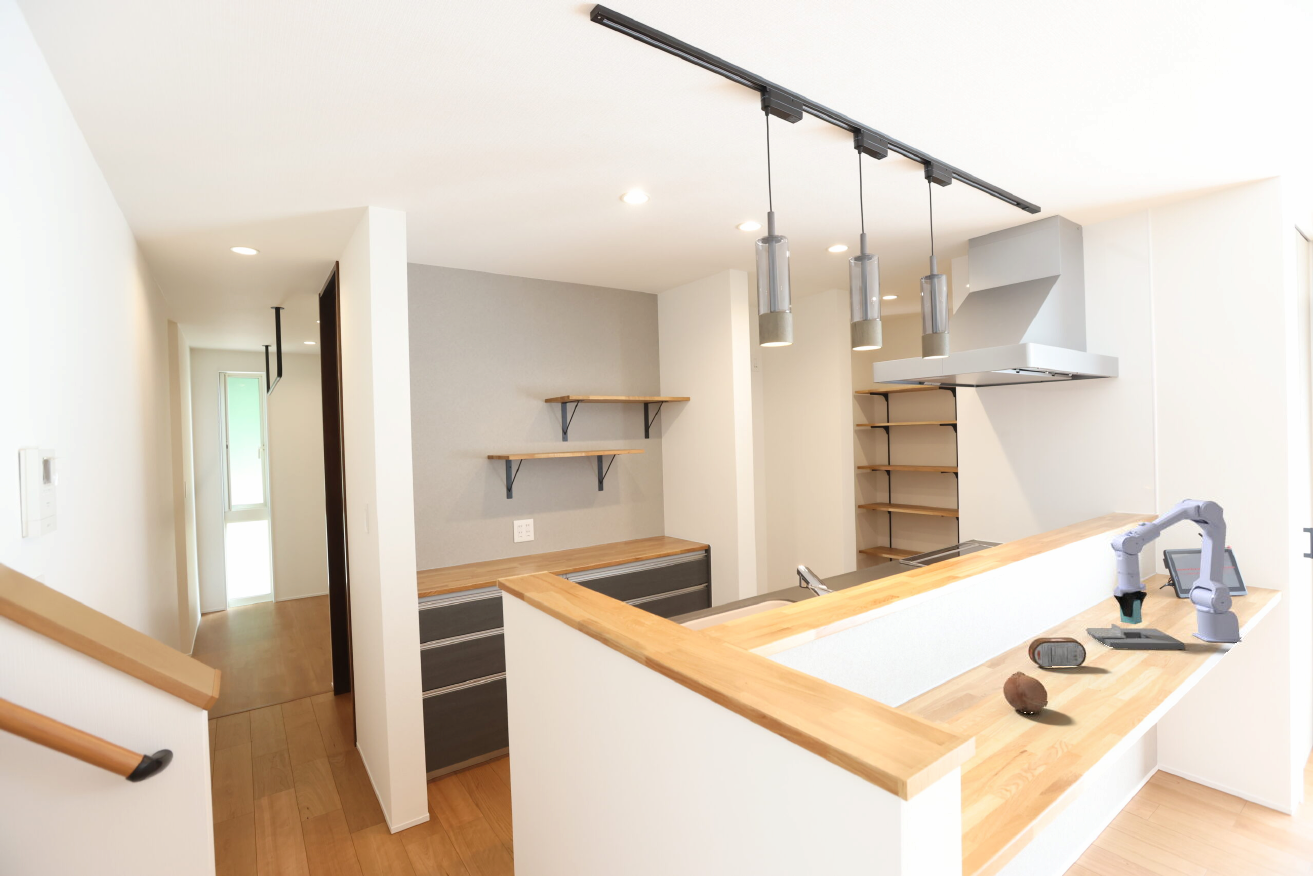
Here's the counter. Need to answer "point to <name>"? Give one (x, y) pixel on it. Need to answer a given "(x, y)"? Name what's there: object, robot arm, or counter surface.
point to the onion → (1025, 693)
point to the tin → (1057, 652)
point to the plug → (1136, 614)
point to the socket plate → (1142, 639)
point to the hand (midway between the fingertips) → (1131, 615)
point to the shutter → (1108, 632)
